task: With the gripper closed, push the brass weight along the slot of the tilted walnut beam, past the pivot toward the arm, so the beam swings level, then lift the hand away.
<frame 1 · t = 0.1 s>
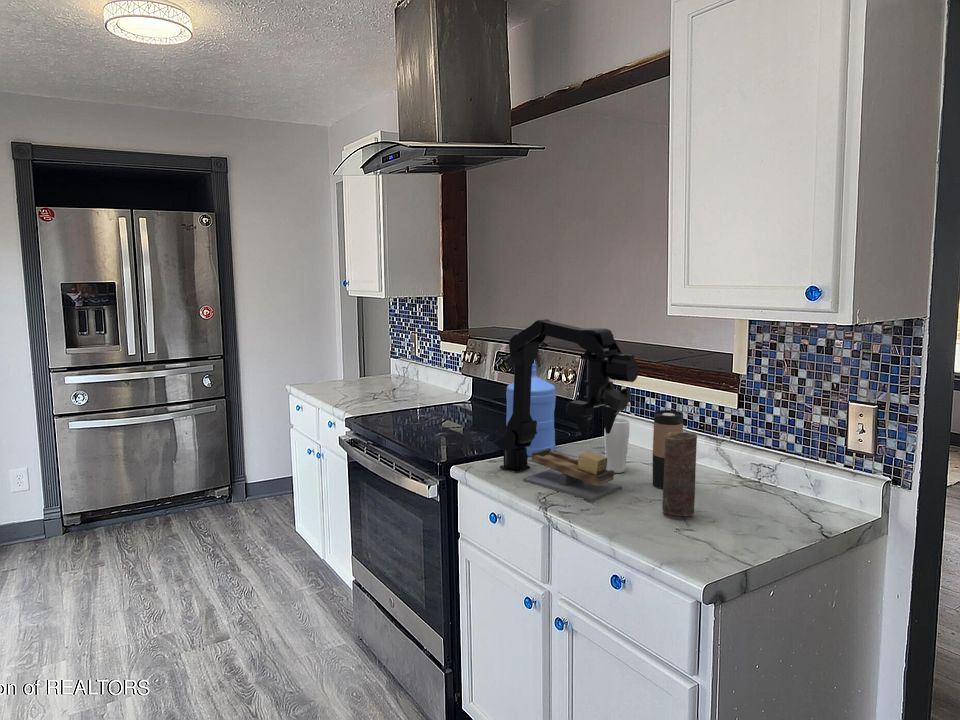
hand: (597, 436, 182), 15 cm above the worktop, tool pointing down, fingers open, 9 cm apart
beam: (571, 466, 188), point 5 cm above the worktop, hinge at 5.6°, touching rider
candle: (677, 515, 166), on the worktop
stand: (571, 484, 188), on the worktop
drinking glass: (616, 471, 201), on the worktop
water jug: (530, 451, 223), on the worktop
travel mug: (666, 486, 188), on the worktop
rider: (591, 474, 183), point 4 cm above the worktop, tilted 6°, touching beam
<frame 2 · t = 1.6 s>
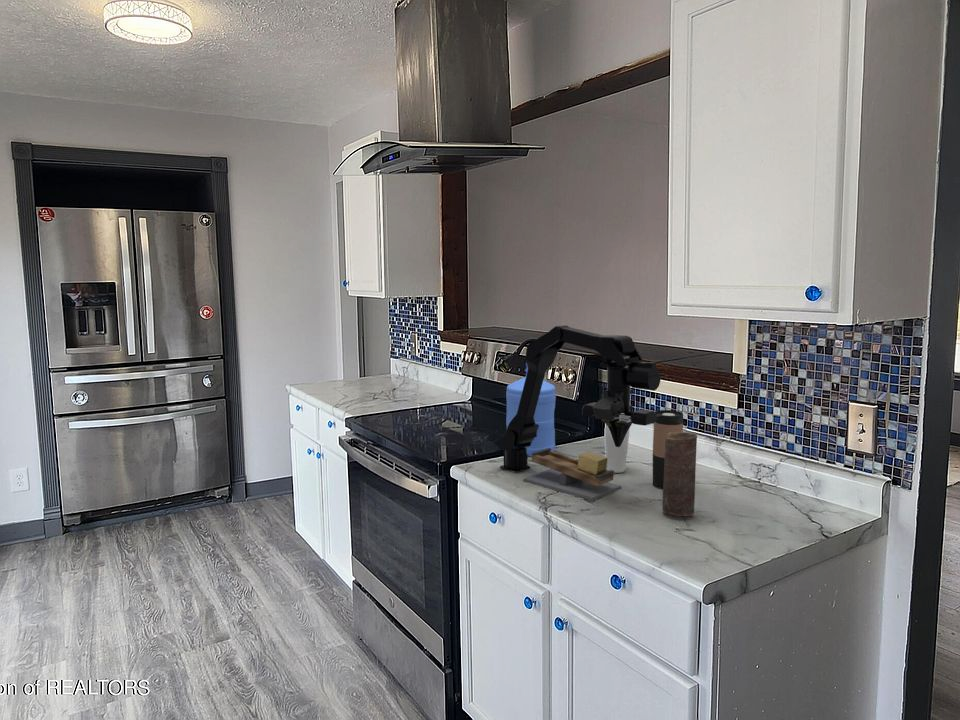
hand: (618, 446, 177), 13 cm above the worktop, tool pointing down, fingers closed
nothing on the worktop moved.
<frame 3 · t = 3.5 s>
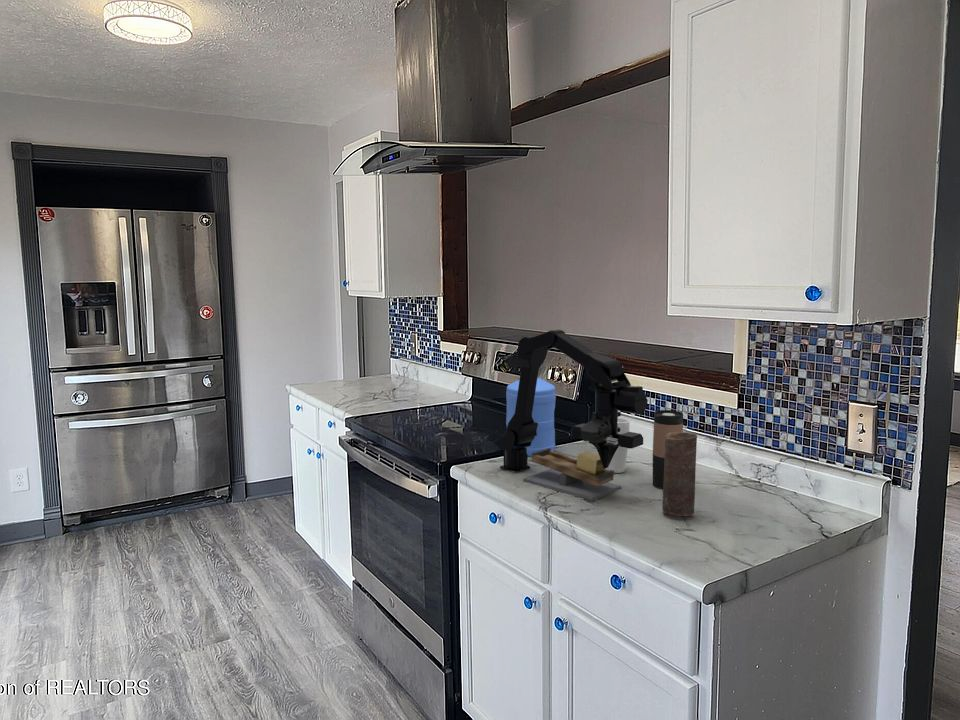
hand: (605, 467, 180), 7 cm above the worktop, tool pointing down, fingers closed
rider: (589, 473, 184), point 4 cm above the worktop, tilted 6°, touching beam, gripper
everything else where it was.
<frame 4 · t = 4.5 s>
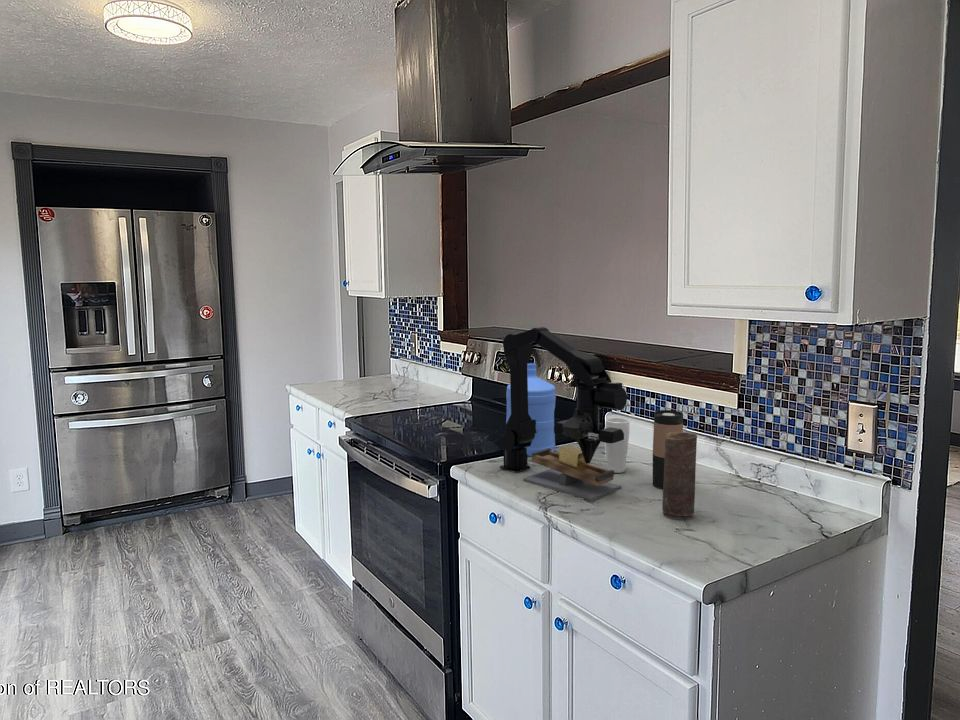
hand: (587, 463, 184), 7 cm above the worktop, tool pointing down, fingers closed
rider: (572, 467, 188), point 5 cm above the worktop, tilted 5°, touching beam, gripper
everything else where it was.
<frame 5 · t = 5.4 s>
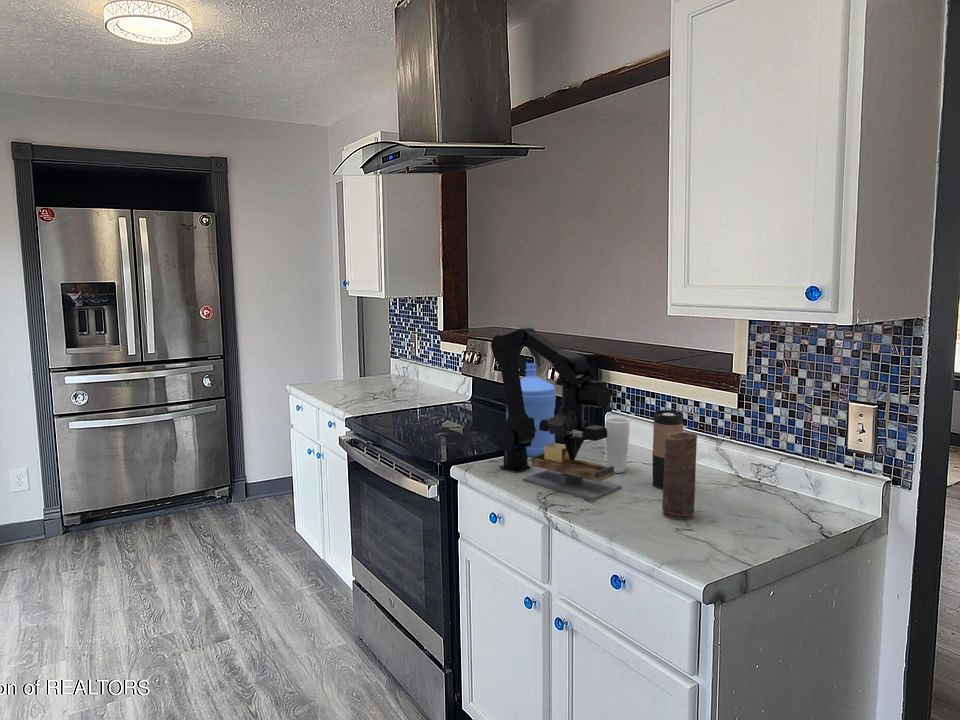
hand: (572, 459, 187), 7 cm above the worktop, tool pointing down, fingers closed
beam: (571, 466, 188), point 5 cm above the worktop, hinge at -0.4°, touching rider
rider: (557, 463, 191), point 5 cm above the worktop, touching beam, gripper
everything else where it was.
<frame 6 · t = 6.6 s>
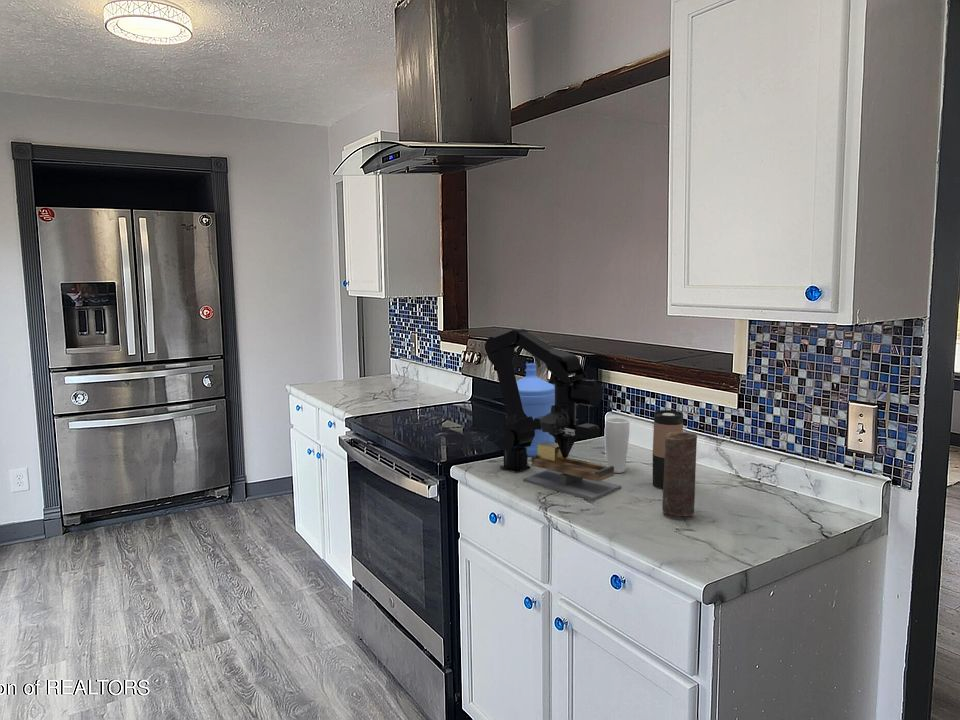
hand: (564, 457, 189), 7 cm above the worktop, tool pointing down, fingers closed
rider: (551, 462, 193), point 5 cm above the worktop, touching beam, gripper
everything else where it was.
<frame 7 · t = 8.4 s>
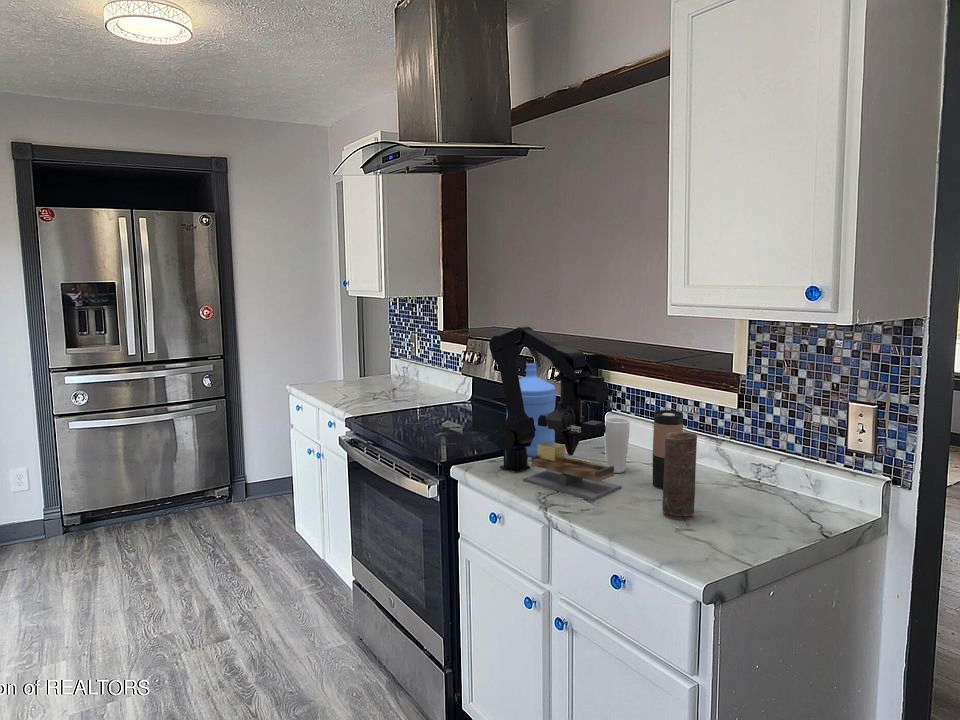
hand: (570, 455, 188), 8 cm above the worktop, tool pointing down, fingers closed
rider: (550, 462, 193), point 5 cm above the worktop, touching beam
everything else where it was.
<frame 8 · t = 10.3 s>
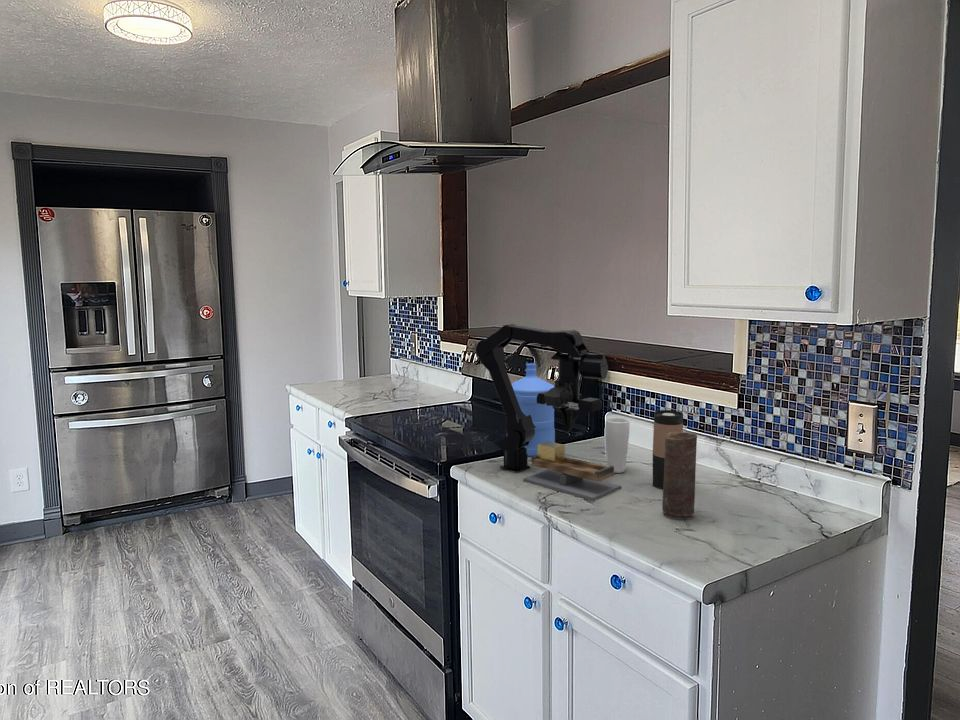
hand: (568, 431, 194), 13 cm above the worktop, tool pointing down, fingers closed
nothing on the worktop moved.
at the end: beam at +0° (first picture: +6°); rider 0.5 cm from the target spot on the stand, point 4.9 cm above the stand's base; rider touching beam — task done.
